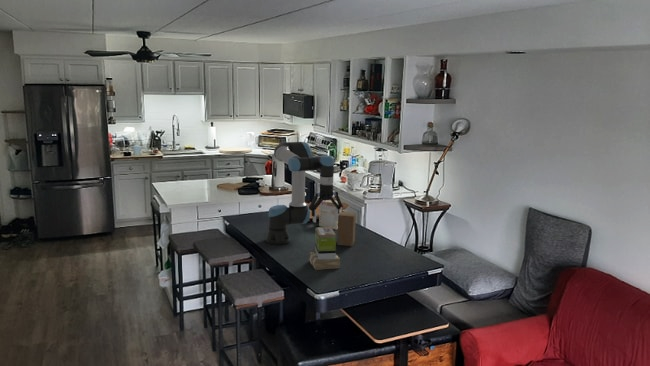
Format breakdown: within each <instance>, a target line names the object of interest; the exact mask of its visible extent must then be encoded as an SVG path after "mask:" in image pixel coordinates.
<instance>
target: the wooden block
mask: <svg viewBox="0 0 650 366" xmlns="http://www.w3.org/2000/svg"><path fill="white" fill-rule="evenodd" d="M356 217H357V213H356V212H350V211H342V212H340V214H339V215H338V229H337V238H336V246H345V247H353V246H354V244H355V242H356Z"/></svg>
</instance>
